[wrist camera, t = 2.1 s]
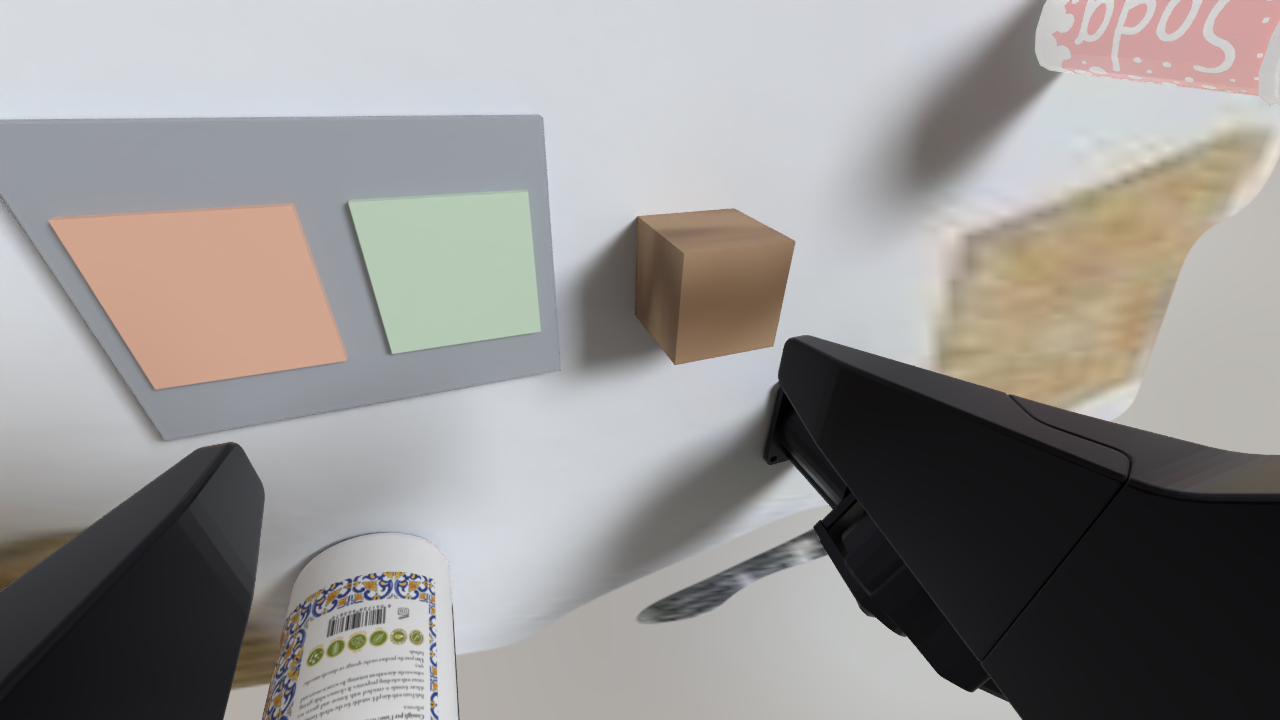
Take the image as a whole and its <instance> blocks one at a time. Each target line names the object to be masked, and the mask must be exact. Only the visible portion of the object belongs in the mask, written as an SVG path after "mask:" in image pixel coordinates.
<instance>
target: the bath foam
mask: <svg viewBox="0 0 1280 720" xmlns="http://www.w3.org/2000/svg"><path fill="white" fill-rule="evenodd" d="M262 720H459V705H458V688H457V670H456V653H455V636H454V619H453V602H452V597H451V580H450V568H449V564H448V561H447V558H446V556H445V555H444V553H443V552H442V551H441V550H440V549H439V548H438V547H437V546H436V545H435V544H433V543H432V542H430V541H428V540H426V539H424V538H421V537H418V536H414V535H410V534H404V533H374V534H368V535H363V536H358V537H355V538H351V539H348V540H345V541H343V542H340V543H338V544H336V545H334V546H332V547H330V548H328V549H326V550H325V551H323V552H321V553H320V554H319V555H317V556H316V557H315V558H313V559H312V560H311V561H310V562H309V563H308V564H307V565H306V566H305V567H304V568H303V570H302V571H301V572H300V574H299V576H298V577H297V579H296V581H295V584H294V587H293V590H292V594H291V598H290V603H289V607H288V611H287V616H286V620H285V624H284V627H283V631H282V635H281V639H280V644H279V648H278V652H277V657H276V661H275V665H274V669H273V674H272V678H271V682H270V687H269V691H268V695H267V700H266V704H265V708H264V712H263V717H262Z"/></svg>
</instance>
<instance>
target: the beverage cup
mask: <svg viewBox="0 0 1280 720" xmlns="http://www.w3.org/2000/svg"><path fill="white" fill-rule="evenodd" d="M1035 53H1036V56H1037V58H1038V61H1039V64H1040V65H1041V66H1042V67H1044V68H1046V69H1048V70H1050V71H1057V72H1065V73H1073V74H1082V75H1090V76H1098V77H1106V78H1115V79H1123V80H1131V81H1139V82H1148V83H1156V84H1164V85H1173V86H1181V87H1189V88H1197V89H1206V90H1214V91H1222V92H1230V93H1239V94H1247V95H1255V96H1259V97H1260V98H1261V99H1262V100H1264V101H1265V102H1266V103H1267V104H1269V105H1280V0H1047V1H1046V3H1045V5H1044V6H1043V10H1042V13H1041V16H1040V19H1039V23H1038V26H1037V29H1036V40H1035Z"/></svg>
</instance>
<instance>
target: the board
mask: <svg viewBox="0 0 1280 720" xmlns="http://www.w3.org/2000/svg"><path fill="white" fill-rule="evenodd" d="M0 194H1V196H2V197H3V199H4V200H5V202H6V203H7V205H8V206H9V208H10V209H11V211H12V212H13V214H14V215H15V217H16V218H17V220H18V221H19V223H20V224H21V226H22V227H23V229H24V230H25V232H26V233H27V235H28V236H29V238H30V239H31V241H32V242H33V244H34V245H35V247H36V248H37V250H38V251H39V253H40V254H41V256H42V257H43V259H44V260H45V262H46V263H47V265H48V266H49V268H50V269H51V271H52V272H53V274H54V275H55V277H56V278H57V280H58V281H59V283H60V284H61V286H62V287H63V289H64V290H65V292H66V293H67V295H68V296H69V298H70V299H71V301H72V302H73V304H74V305H75V307H76V308H77V310H78V311H79V313H80V314H81V316H82V317H83V319H84V320H85V322H86V323H87V325H88V326H89V328H90V329H91V331H92V332H93V334H94V335H95V337H96V338H97V340H98V341H99V343H100V344H101V346H102V347H103V349H104V350H105V352H106V353H107V355H108V356H109V358H110V359H111V361H112V362H113V364H114V365H115V367H116V368H117V370H118V371H119V373H120V374H121V376H122V377H123V379H124V380H125V382H126V383H127V385H128V386H129V388H130V389H131V391H132V392H133V394H134V395H135V397H136V398H137V400H138V401H139V403H140V404H141V406H142V407H143V409H144V410H145V412H146V413H147V415H148V416H149V418H150V419H151V421H152V422H153V424H154V425H155V427H156V428H157V430H158V431H159V433H160V434H161V436H162V437H163V439H164V440H165V441H168V440H173V439H179V438H185V437H190V436H196V435H201V434H207V433H213V432H218V431H224V430H229V429H235V428H241V427H246V426H252V425H258V424H263V423H269V422H274V421H280V420H286V419H291V418H297V417H302V416H308V415H314V414H319V413H325V412H330V411H336V410H342V409H347V408H353V407H359V406H364V405H370V404H375V403H381V402H387V401H392V400H398V399H403V398H409V397H415V396H420V395H426V394H431V393H437V392H443V391H448V390H454V389H460V388H465V387H471V386H476V385H482V384H488V383H493V382H499V381H504V380H510V379H516V378H521V377H527V376H532V375H538V374H544V373H549V372H555V371H561V366H560V352H559V337H558V323H557V309H556V295H555V280H554V266H553V252H552V238H551V223H550V209H549V195H548V181H547V166H546V152H545V138H544V123H543V117H541V116H540V115H463V116H357V117H251V118H145V119H39V120H0Z"/></svg>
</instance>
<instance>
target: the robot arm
mask: <svg viewBox="0 0 1280 720" xmlns="http://www.w3.org/2000/svg"><path fill="white" fill-rule="evenodd" d="M778 379H779V383H780V387H779V391H778V396H777V400H776V404H775V409H774V413H773V417H772V422H771V426H770V430H769V435H768V439H767V443H766V448H765V452H764V457H763V459H764V460H765V461H766V462H767V464H769V465H773V464H776V463H780V462H783V461H787V460H790V461H791V462H792V463H793V465H794V466H795V467H796V468H797V469H798V470H799V471H800V472H801V474H802V475H803V476H804V477H805V478H806V479H807V480H808V482H809V483H810V484H811V485H812V486H813V487H814V488H815V489H816V491H817V492H818V493H819V494H820V495H821V496H822V497H823V499H824V500H825V501H826V502H827V503H828V504H829V505H830V506H831V508H832V509H833V510H832V511H831V512H830V513H829V514H828V515H827V516H826V517H825V518H824V519H823V520H822V521H821V520H820V521H818V523H816V525H815V526H814V527H813V528H814V530H815V531H816V533H817V534H818V536H819V538H820V539H821V540H820V542H821V544H822V545H823V547H824V549H825V550H826V552H827V553H828V555H829V557H830V558H831V560H832V562H833V563H834V565H835V566H836V568H837V570H838V571H839V573H840V574H841V576H842V578H843V579H844V581H845V582H846V584H847V586H848V587H849V589H850V591H851V592H852V594H853V596H854V597H855V598H856V601H857V603H858V605H859V607H860V609H861V610H862V611H863V612H864V613H865V614H866V615H867V616H870V617H875V618H877V619H878V620H879V621H880V622H882V623H883V624H884V625H885V626H886V627H888V628H889V629H890V630H892V631H893V632H895V633H897V634H898V635H900V636H904V637H906V636H907V637H908V638H909V639H910V640H911V642H912V643H913V644H914V645H915V646H916V647H917V649H918V650H919V651H920V652H921V654H922V655H923V656H924V657H925V658H926V660H927V661H928V662H929V663H930V665H931V666H932V667H933V668H934V670H935V671H936V672H937V673H938V674H939V675H940V676H941V677H943V678H945V679H946V680H948V681H950V682H952V683H953V684H955V685H957V686H959V687H960V688H962V689H964V690H966V691H969V692H974V691H975V690H976V689H978V688H979V689H981V690H984V691H986V692H988V693H990V694H992V695H994V696H997V697H999V698H1001V699H1003V700H1005V701H1008V702H1009V703H1010V704H1011V705H1012V707H1013V708H1014V709H1015V711H1016V712H1017V713H1018V715H1019V716H1020V717H1021V718H1022V720H1280V455H1260V454H1248V453H1240V452H1232V451H1227V450H1222V449H1217V448H1213V447H1208V446H1204V445H1200V444H1196V443H1192V442H1188V441H1184V440H1180V439H1176V438H1172V437H1168V436H1164V435H1161V434H1156V433H1153V432H1149V431H1145V430H1140V429H1137V428H1132V427H1129V426H1125V425H1121V424H1117V423H1113V422H1109V421H1105V420H1101V419H1098V418H1094V417H1090V416H1086V415H1082V414H1078V413H1075V412H1071V411H1067V410H1064V409H1060V408H1057V407H1053V406H1050V405H1046V404H1042V403H1039V402H1035V401H1032V400H1028V399H1025V398H1022V397H1018V396H1015V395H1011V394H1009V395H1007V394H1006V393H1004V392H1001V391H997V390H994V389H991V388H987V387H984V386H980V385H977V384H974V383H970V382H967V381H963V380H960V379H956V378H953V377H950V376H946V375H943V374H939V373H936V372H933V371H929V370H926V369H922V368H919V367H915V366H912V365H909V364H905V363H902V362H898V361H895V360H892V359H888V358H885V357H881V356H878V355H874V354H871V353H868V352H864V351H861V350H857V349H854V348H851V347H847V346H844V345H840V344H837V343H833V342H830V341H827V340H823V339H820V338H816V337H813V336H809V335H803V336H798V337H793V338H789V339H788V340H787V341H786V343H785V345H784V348H783V353H782V358H781V362H780V367H779V371H778ZM264 501H265V493H264V488H263V484H262V482H261V480H260V478H259V477H258V475H257V473H256V471H255V469H254V468H253V466H252V464H251V462H250V461H249V459H248V457H247V455H246V453H245V452H244V450H243V449H242V447H241V446H240V445H238V444H236V443H233V442H228V443H223V444H217V445H212V446H207V447H202V448H199V449H197V450H195V451H193V452H192V453H191V454H189V455H188V456H187V457H185V458H184V459H182V460H181V461H180V462H178V463H177V464H175V465H174V466H173V467H171V468H170V469H168V470H167V471H166V472H164V473H163V474H162V475H160V476H159V477H157V478H156V479H155V480H153V481H152V482H150V483H149V484H148V485H146V486H145V487H144V488H142V489H141V490H139V491H138V492H137V493H135V494H134V495H132V496H131V497H130V498H128V499H127V500H126V501H124V502H123V503H121V504H120V505H119V506H117V507H116V508H114V509H113V510H112V511H110V512H109V513H108V514H106V515H105V516H103V517H102V518H101V519H99V520H98V521H96V522H95V523H94V524H92V525H91V526H89V527H88V528H87V529H85V530H84V531H83V532H81V533H80V534H78V535H77V536H76V537H74V538H73V539H71V540H70V541H69V542H67V543H66V544H65V545H63V546H62V547H60V548H59V549H58V550H56V551H55V552H53V553H52V554H51V555H49V556H48V557H47V558H45V559H44V560H42V561H41V562H40V563H38V564H37V565H35V566H34V567H33V568H31V569H30V570H28V571H27V572H26V573H24V574H23V575H22V576H20V577H19V578H17V579H16V580H15V581H13V582H12V583H10V584H9V585H8V586H6V587H5V588H4V589H2V590H1V591H0V720H223V718H224V714H225V710H226V706H227V702H228V698H229V694H230V690H231V686H232V682H233V678H234V674H235V670H236V666H237V662H238V658H239V654H240V650H241V646H242V642H243V638H244V634H245V630H246V626H247V622H248V618H249V614H250V609H251V605H252V600H253V594H254V587H255V580H256V571H257V563H258V554H259V545H260V536H261V527H262V519H263V510H264Z"/></svg>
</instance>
